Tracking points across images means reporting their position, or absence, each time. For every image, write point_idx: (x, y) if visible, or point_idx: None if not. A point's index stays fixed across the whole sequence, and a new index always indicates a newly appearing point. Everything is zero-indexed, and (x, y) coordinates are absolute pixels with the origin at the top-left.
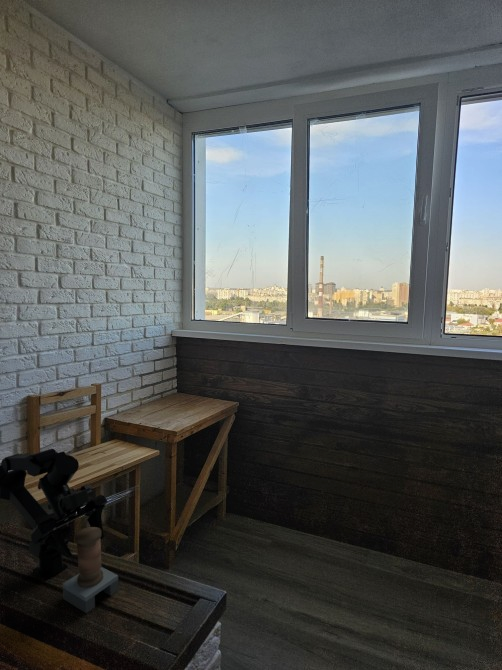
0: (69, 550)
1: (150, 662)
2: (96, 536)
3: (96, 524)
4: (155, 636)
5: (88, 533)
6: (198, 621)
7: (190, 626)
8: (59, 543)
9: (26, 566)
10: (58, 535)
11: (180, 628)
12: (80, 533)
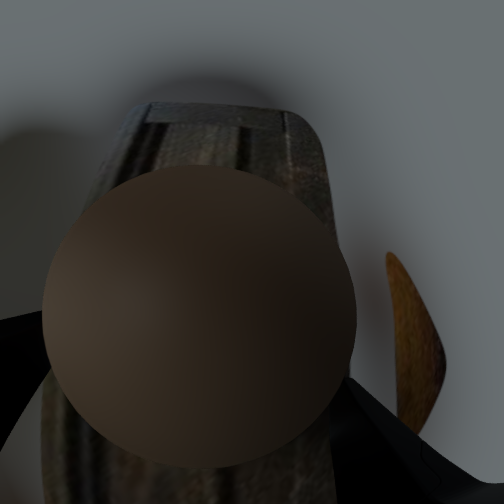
0: (357, 399)
1: (315, 135)
2: (216, 173)
3: None
4: (266, 145)
5: (191, 293)
6: (205, 107)
7: (221, 112)
8: (435, 460)
9: None
10: (477, 493)
11: (231, 121)
12: (234, 402)
